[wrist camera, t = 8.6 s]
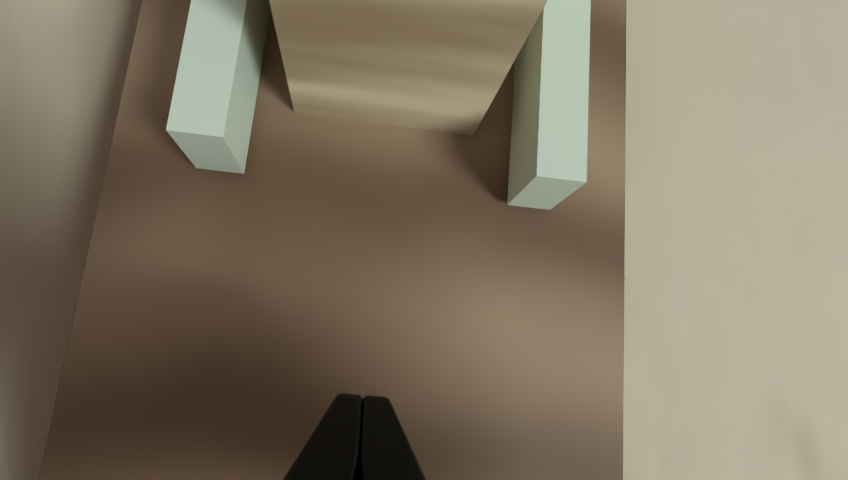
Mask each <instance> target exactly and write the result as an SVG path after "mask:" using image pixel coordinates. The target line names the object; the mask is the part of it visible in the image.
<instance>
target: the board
mask: <svg viewBox="0 0 848 480" xmlns="http://www.w3.org/2000/svg"><path fill="white" fill-rule="evenodd" d="M190 4H191V0H142V4H141V8H140V13H139V18H138V22H137V27H136V32H135V36H134V41H133V45H132V50H131V55H130V59H129V64H128V69H127V73H126V78H125V83H124V87H123V92H122V96H121V101H120V106H119V110H118V115H117V120H116V124H115V129H114V133H113V138H112V143H111V147H110V152H109V157H108V161H107V166H106V171H105V175H104V180H103V184H102V189H101V194H100V198H99V203H98V208H97V212H96V217H95V222H94V226H93V231H92V235H91V240H90V245H89V249H88V254H87V259H86V263H85V268H84V272H83V277H82V282H81V286H80V291H79V296H78V300H77V305H76V310H75V314H74V319H73V323H72V328H71V333H70V337H69V342H68V347H67V351H66V356H65V360H64V365H63V370H62V374H61V379H60V384H59V388H58V393H57V398H56V402H55V407H54V411H53V416H52V421H51V425H50V430H49V435H48V439H47V444H46V449H45V453H44V458H43V462H42V467H41V472H40V476H39V480H283V479H284V477H285V475H286V474H287V472H288V471H289V469H290V468H291V466H292V464H293V463H294V461H295V460H296V458H297V457H298V455H299V453H300V452H301V450H302V449H303V447H304V446H305V444H306V442H307V441H308V439H309V438H310V436H311V435H312V433H313V431H314V430H315V428H316V427H317V425H318V423H319V422H320V420H321V419H322V417H323V416H324V414H325V412H326V411H327V409H328V408H329V406H330V405H331V403H332V401H333V400H334V398H335V397H336V396H337V395H338V394H339V393H349V394H359V395H361V396H362V398H364V397H365V396H366V395H374V396H385V397H387V398H389V400H390V401H391V403H392V406H393V408H394V410H395V412H396V414H397V416H398V419H399V421H400V423H401V425H402V427H403V430H404V432H405V434H406V436H407V438H408V441H409V443H410V445H411V447H412V449H413V452H414V454H415V456H416V458H417V460H418V462H419V465H420V467H421V469H422V471H423V473H424V476H425V478H426V480H623V367H624V233H625V100H626V0H591V12H590V56H589V100H588V144H587V182H586V183H585V184H584V185H582V186H581V187H580V188H578V189H577V190H576V191H574V192H573V193H572V194H570V195H569V196H568V197H566V198H565V199H564V200H562V201H561V202H560V203H558V204H557V205H556V206H554V207H553V208H552V209H550V210H546V209H538V208H529V207H521V206H512V205H507V200H508V182H509V163H510V145H511V126H512V108H513V89H514V70H515V61H514V63H513V64H512V66H511V68H510V70H509V72H508V73H507V75H506V77H505V79H504V81H503V83H502V84H501V86H500V88H499V90H498V92H497V93H496V95H495V97H494V99H493V101H492V103H491V104H490V106H489V108H488V110H487V112H486V113H485V115H484V117H483V119H482V121H481V123H480V124H479V126H478V128H477V130H476V132H475V133H474V135H473V136H471V135H464V134H456V133H448V132H441V131H433V130H425V129H418V128H410V127H402V126H395V125H387V124H379V123H372V122H364V121H356V120H349V119H341V118H333V117H326V116H318V115H310V114H302V113H295V112H294V109H293V105H292V100H291V96H290V92H289V87H288V83H287V78H286V74H285V69H284V65H283V60H282V56H281V51H280V47H279V43H278V38H277V34H276V29H275V25H274V20H273V16H272V11H271V10H270V16H269V22H268V28H267V35H266V41H265V47H264V53H263V60H262V66H261V72H260V78H259V85H258V91H257V97H256V103H255V110H254V116H253V122H252V128H251V135H250V141H249V147H248V153H247V160H246V166H245V172H244V174H241V173H232V172H224V171H215V170H207V169H198V168H196V167H195V166H194V165H193V163H192V162H191V161H190V160H189V158H188V157H187V156H186V155H185V153H184V152H183V151H182V150H181V148H180V147H179V146H178V145H177V143H176V142H175V141H174V140H173V138H172V137H171V136H170V135H169V133H168V132H167V131H166V127H167V122H168V117H169V111H170V106H171V101H172V96H173V91H174V86H175V81H176V76H177V70H178V65H179V60H180V55H181V50H182V45H183V40H184V34H185V29H186V24H187V19H188V14H189V9H190Z"/></svg>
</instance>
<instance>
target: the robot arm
mask: <svg viewBox="0 0 848 480" xmlns="http://www.w3.org/2000/svg"><path fill="white" fill-rule="evenodd" d="M283 480H426V478H425V476H424V473H423V471H422V469H421V467H420V465H419V462H418V460H417V458H416V456H415V454H414V452H413V449H412V447H411V445H410V443H409V441H408V438H407V436H406V434H405V432H404V430H403V427H402V425H401V423H400V421H399V419H398V416H397V414H396V412H395V410H394V408H393V406H392V403H391V401H390V400H389V398H387V397H385V396H374V395H366V396H365V397H364V398H362V396H361V395H359V394H349V393H339V394H338V395H337V396H336V397H335V398H334V400H333V401H332V403H331V405H330V406H329V408H328V409H327V411H326V412H325V414H324V416H323V417H322V419H321V420H320V422H319V423H318V425H317V427H316V428H315V430H314V431H313V433H312V435H311V436H310V438H309V439H308V441H307V442H306V444H305V446H304V447H303V449H302V450H301V452H300V453H299V455H298V457H297V458H296V460H295V461H294V463H293V464H292V466H291V468H290V469H289V471H288V472H287V474H286V475H285V477H284V479H283Z"/></svg>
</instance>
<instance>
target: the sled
mask: <svg viewBox="0 0 848 480" xmlns="http://www.w3.org/2000/svg"><path fill="white" fill-rule="evenodd" d="M270 10H271V7H270V2H269V0H191V4H190V9H189V14H188V19H187V24H186V29H185V34H184V40H183V45H182V50H181V55H180V60H179V65H178V70H177V76H176V81H175V86H174V91H173V96H172V101H171V106H170V111H169V117H168V122H167V127H166V131H167V132H168V133H169V135H170V136H171V137H172V138H173V140H174V141H175V142H176V143H177V145H178V146H179V147H180V148H181V150H182V151H183V152H184V153H185V155H186V156H187V157H188V158H189V160H190V161H191V162H192V163H193V165H194V166H195V167H196V168H198V169H207V170H215V171H224V172H232V173H241V174H244V172H245V166H246V160H247V153H248V147H249V141H250V135H251V128H252V122H253V116H254V110H255V103H256V97H257V91H258V85H259V78H260V72H261V66H262V60H263V53H264V47H265V41H266V35H267V28H268V22H269V16H270ZM590 12H591V0H548V1H547V3H546V4H545V6H544V8H543V10H542V12H541V13H540V15H539V17H538V19H537V21H536V23H535V24H534V26H533V28H532V30H531V32H530V33H529V35H528V37H527V39H526V41H525V43H524V44H523V46H522V48H521V50H520V52H519V53H518V55H517V57H516V59H515V70H514V89H513V108H512V126H511V145H510V163H509V182H508V200H507V205H512V206H521V207H529V208H538V209H546V210H550V209H552V208H553V207H554V206H556V205H557V204H558V203H560V202H561V201H562V200H564V199H565V198H566V197H568V196H569V195H570V194H572V193H573V192H574V191H576V190H577V189H578V188H580V187H581V186H582V185H584V184H585V183H586V182H587V144H588V100H589V56H590Z"/></svg>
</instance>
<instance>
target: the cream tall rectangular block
mask: <svg viewBox="0 0 848 480" xmlns="http://www.w3.org/2000/svg"><path fill="white" fill-rule="evenodd" d="M547 1H548V0H269V2H270V7H271V11H272V16H273V20H274V25H275V29H276V34H277V38H278V43H279V47H280V51H281V56H282V60H283V65H284V69H285V74H286V78H287V83H288V87H289V92H290V96H291V100H292V105H293V109H294V112H295V113H302V114H310V115H318V116H326V117H333V118H341V119H349V120H356V121H364V122H372V123H379V124H387V125H395V126H402V127H410V128H418V129H425V130H433V131H441V132H448V133H456V134H464V135H471V136H473V135H474V133H475V132H476V130H477V128H478V126H479V124H480V123H481V121H482V119H483V117H484V115H485V113H486V112H487V110H488V108H489V106H490V104H491V103H492V101H493V99H494V97H495V95H496V93H497V92H498V90H499V88H500V86H501V84H502V83H503V81H504V79H505V77H506V75H507V73H508V72H509V70H510V68H511V66H512V64H513V63H514V61H515V59H516V57H517V55H518V53H519V52H520V50H521V48H522V46H523V44H524V43H525V41H526V39H527V37H528V35H529V33H530V32H531V30H532V28H533V26H534V24H535V23H536V21H537V19H538V17H539V15H540V13H541V12H542V10H543V8H544V6H545V4H546V3H547Z"/></svg>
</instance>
